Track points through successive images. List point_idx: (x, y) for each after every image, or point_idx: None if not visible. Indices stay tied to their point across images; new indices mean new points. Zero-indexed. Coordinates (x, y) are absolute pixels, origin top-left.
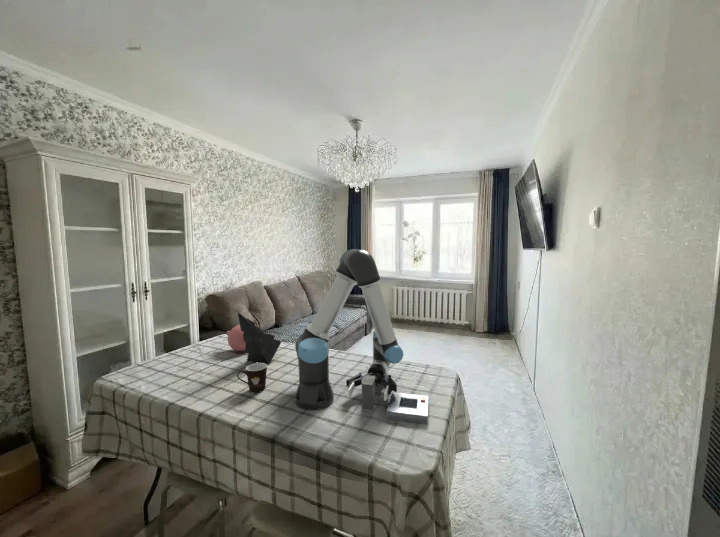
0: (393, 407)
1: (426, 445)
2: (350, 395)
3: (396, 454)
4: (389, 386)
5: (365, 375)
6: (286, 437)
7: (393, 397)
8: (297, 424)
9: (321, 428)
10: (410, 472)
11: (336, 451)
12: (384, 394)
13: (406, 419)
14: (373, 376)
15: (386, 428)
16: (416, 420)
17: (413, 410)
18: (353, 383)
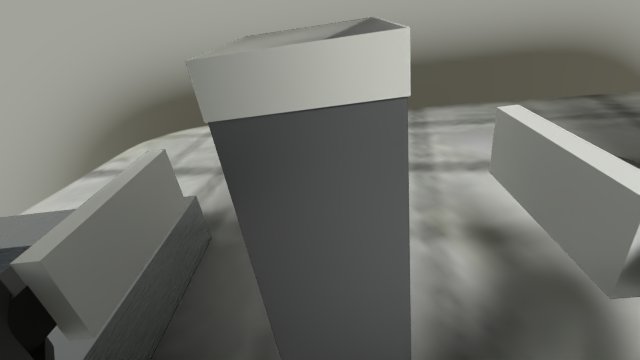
0: None
1: (106, 178)
2: (496, 173)
3: (211, 143)
4: (2, 284)
5: (385, 30)
6: (554, 101)
7: None
8: (605, 125)
9: (487, 137)
10: (192, 129)
11: None
12: (164, 157)
13: None
14: (219, 53)
15: (223, 195)
16: None
17: (14, 237)
18: (607, 172)
